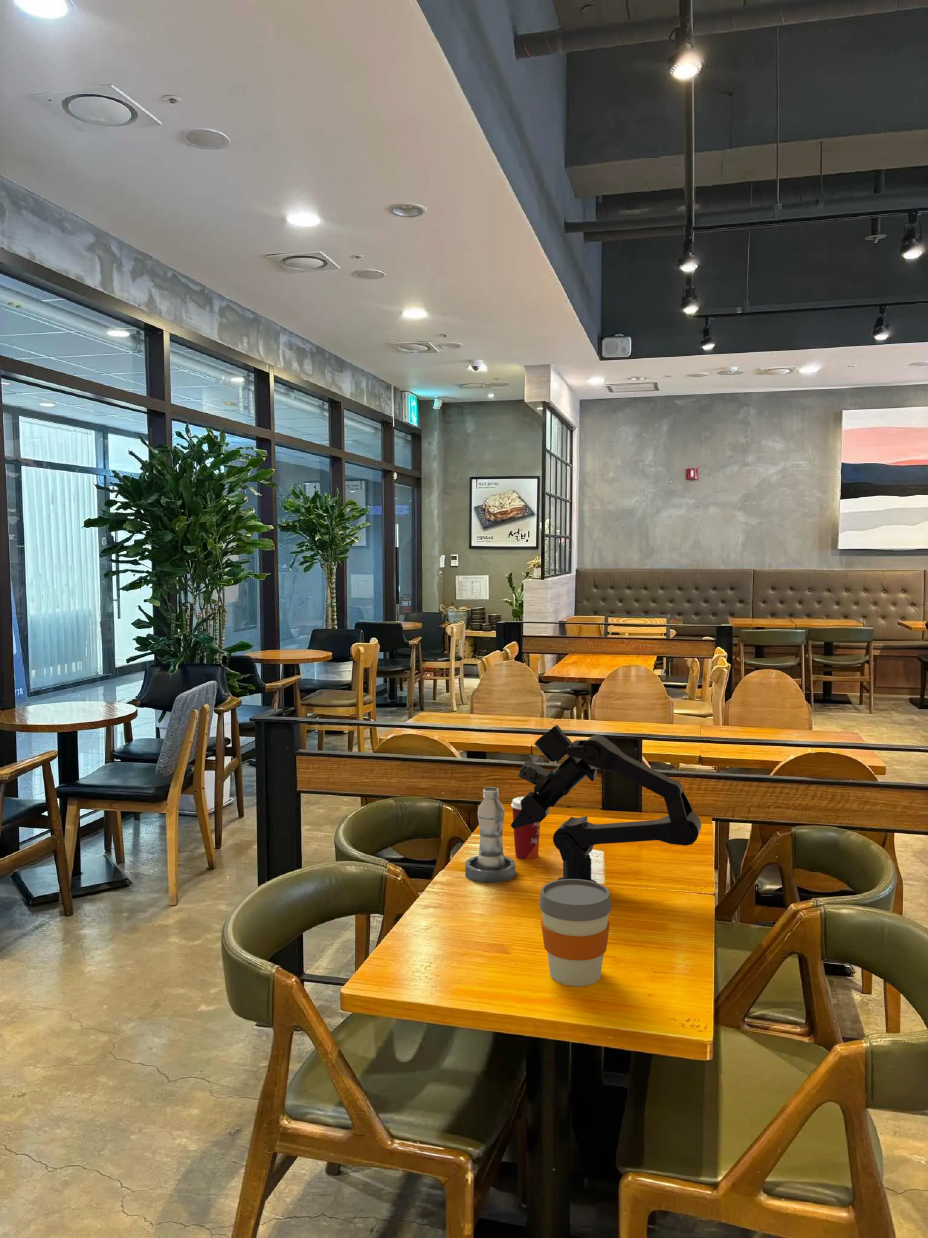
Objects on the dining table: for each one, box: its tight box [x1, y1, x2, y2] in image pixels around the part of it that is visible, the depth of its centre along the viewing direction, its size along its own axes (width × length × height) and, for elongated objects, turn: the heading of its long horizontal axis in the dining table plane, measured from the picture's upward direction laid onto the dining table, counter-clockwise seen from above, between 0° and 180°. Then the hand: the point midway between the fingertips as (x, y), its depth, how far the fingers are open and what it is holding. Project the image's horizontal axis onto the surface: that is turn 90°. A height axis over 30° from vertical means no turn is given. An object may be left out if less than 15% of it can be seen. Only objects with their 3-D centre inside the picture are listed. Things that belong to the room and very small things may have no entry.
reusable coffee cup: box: [538, 879, 612, 987], centre depth 155 cm, size 13×13×15 cm
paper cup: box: [510, 796, 541, 861], centre depth 217 cm, size 8×8×14 cm
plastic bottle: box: [477, 786, 506, 870], centre depth 205 cm, size 6×7×20 cm
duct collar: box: [464, 855, 516, 884], centre depth 205 cm, size 12×12×2 cm
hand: (517, 821), depth 202 cm, fingers open, 9 cm apart
